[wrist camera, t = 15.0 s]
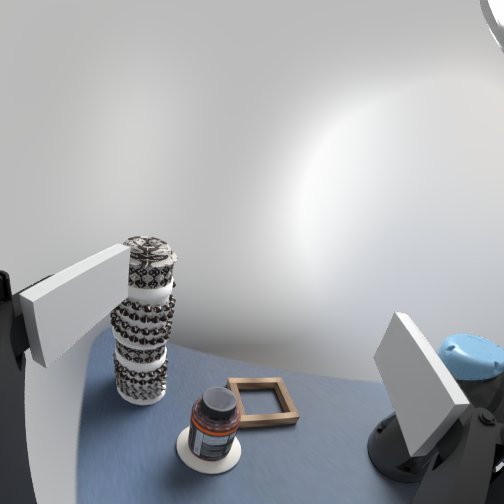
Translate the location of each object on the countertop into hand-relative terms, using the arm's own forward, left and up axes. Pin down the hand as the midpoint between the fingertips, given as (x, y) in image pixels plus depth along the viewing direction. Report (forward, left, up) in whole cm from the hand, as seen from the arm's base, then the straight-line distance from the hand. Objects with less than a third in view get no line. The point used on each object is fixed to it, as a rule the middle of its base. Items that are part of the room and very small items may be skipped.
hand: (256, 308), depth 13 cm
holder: (-13, -20, -30) cm, 38 cm away
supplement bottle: (-3, -11, -30) cm, 32 cm away
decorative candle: (+7, -23, -30) cm, 39 cm away
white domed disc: (-3, -11, -30) cm, 32 cm away
